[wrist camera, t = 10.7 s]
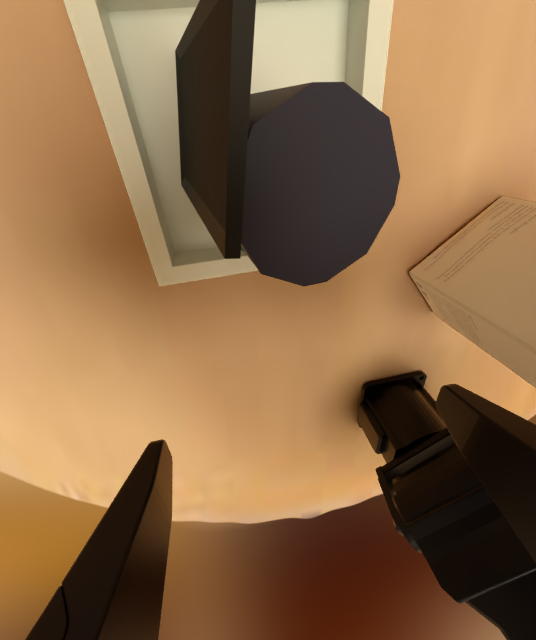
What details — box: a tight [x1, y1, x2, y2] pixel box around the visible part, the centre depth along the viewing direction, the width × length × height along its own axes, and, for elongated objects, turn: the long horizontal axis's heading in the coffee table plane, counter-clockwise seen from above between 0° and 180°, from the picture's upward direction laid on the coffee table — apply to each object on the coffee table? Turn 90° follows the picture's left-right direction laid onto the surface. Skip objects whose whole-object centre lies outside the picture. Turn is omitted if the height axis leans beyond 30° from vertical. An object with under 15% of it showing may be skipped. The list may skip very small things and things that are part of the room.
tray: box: [63, 0, 394, 287], centre depth 14 cm, size 12×12×3 cm
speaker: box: [175, 0, 400, 286], centre depth 11 cm, size 8×6×10 cm
